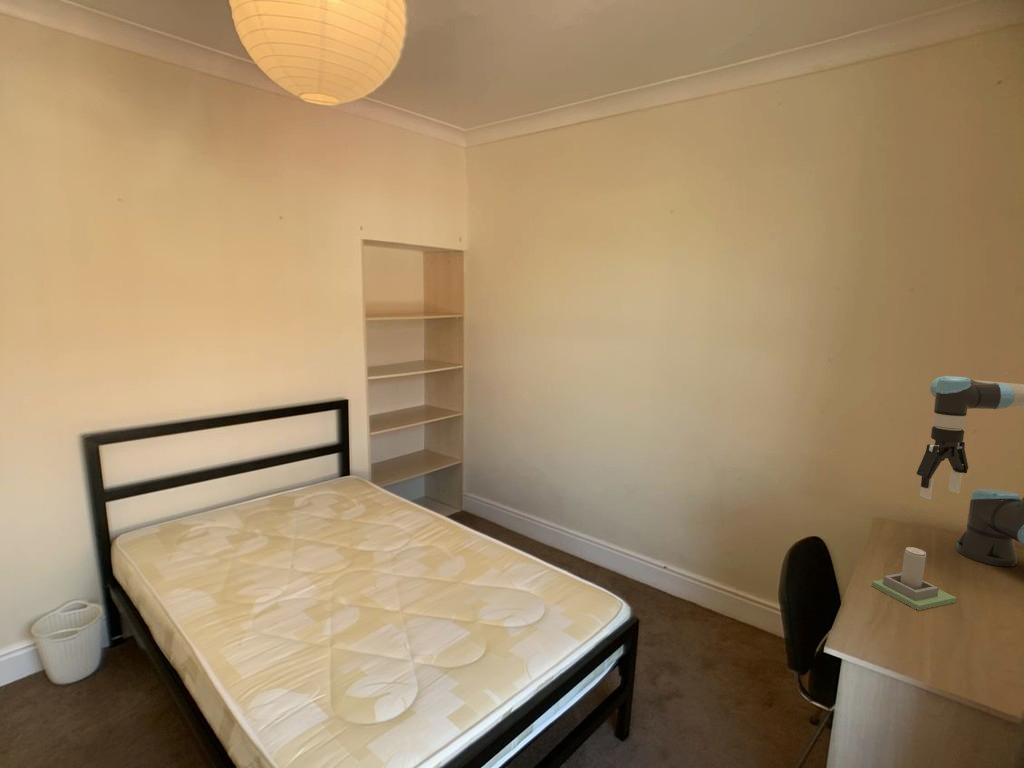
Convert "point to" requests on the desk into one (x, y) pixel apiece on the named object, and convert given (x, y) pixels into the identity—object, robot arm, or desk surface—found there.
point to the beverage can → (913, 568)
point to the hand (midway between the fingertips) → (939, 495)
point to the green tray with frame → (913, 593)
